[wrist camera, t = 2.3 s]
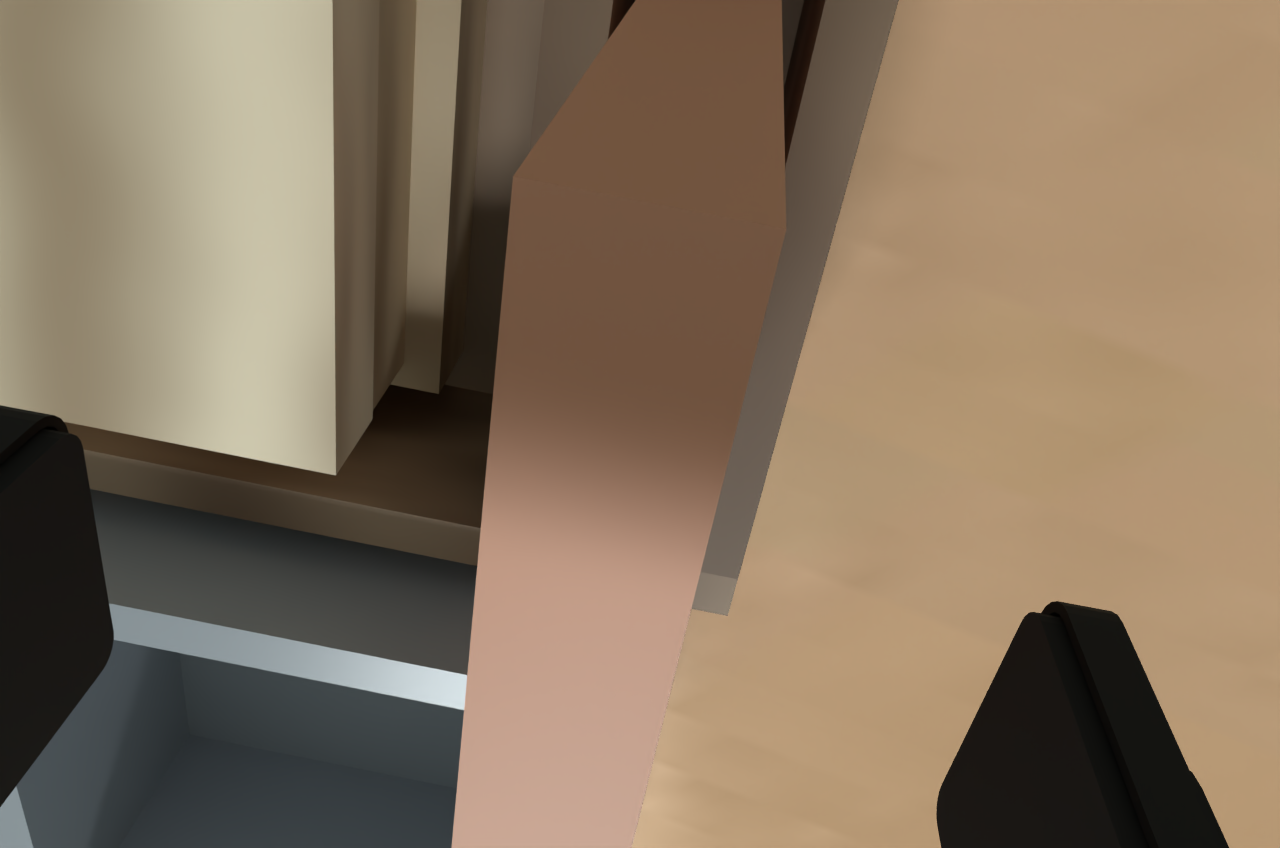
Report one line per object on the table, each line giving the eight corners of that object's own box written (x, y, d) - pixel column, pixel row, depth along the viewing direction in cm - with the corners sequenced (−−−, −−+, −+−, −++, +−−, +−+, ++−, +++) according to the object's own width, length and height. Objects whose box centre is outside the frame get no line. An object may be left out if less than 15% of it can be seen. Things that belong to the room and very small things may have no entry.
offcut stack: (496, -122, 19) (390, -91, 13) (462, 351, 24) (377, 501, 19) (-35, -222, 19) (-337, -230, 14) (51, 270, 24) (-144, 397, 19)
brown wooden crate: (897, -177, 18) (945, -168, 13) (737, 454, 26) (727, 615, 21) (-179, -380, 18) (-540, -447, 13) (-27, 304, 26) (-221, 426, 21)
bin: (653, 470, 26) (611, 704, 20) (585, 807, 34) (537, 1060, 27) (129, 367, 26) (-93, 562, 20) (177, 724, 34) (28, 955, 27)
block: (780, -68, 18) (786, 228, 6) (682, 394, 24) (574, 1074, 11) (694, -85, 18) (511, 175, 6) (615, 381, 24) (433, 1044, 11)
